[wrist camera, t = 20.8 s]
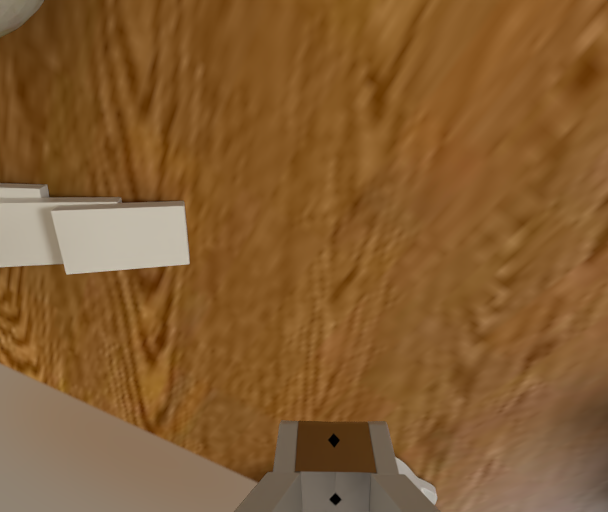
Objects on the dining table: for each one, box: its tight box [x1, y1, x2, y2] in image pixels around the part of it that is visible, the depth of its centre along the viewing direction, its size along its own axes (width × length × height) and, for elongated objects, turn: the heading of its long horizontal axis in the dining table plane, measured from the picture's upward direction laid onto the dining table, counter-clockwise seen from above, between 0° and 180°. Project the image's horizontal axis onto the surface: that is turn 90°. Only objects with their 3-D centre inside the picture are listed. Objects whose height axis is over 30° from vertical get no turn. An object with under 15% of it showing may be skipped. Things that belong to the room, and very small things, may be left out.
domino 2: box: [0, 197, 122, 267], centre depth 28 cm, size 5×2×9 cm
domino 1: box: [51, 201, 190, 274], centre depth 27 cm, size 5×2×9 cm
